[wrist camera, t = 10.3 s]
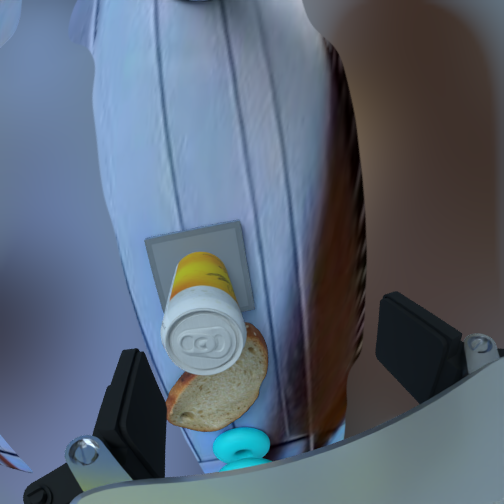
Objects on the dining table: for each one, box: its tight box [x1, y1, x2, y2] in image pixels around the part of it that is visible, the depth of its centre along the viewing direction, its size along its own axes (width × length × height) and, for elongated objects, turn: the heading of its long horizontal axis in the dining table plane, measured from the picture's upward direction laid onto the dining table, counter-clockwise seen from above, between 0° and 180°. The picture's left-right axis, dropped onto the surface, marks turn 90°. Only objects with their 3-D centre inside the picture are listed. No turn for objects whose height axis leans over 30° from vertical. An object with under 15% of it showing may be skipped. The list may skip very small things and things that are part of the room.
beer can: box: [161, 252, 247, 375], centre depth 25 cm, size 6×6×15 cm
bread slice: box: [165, 322, 268, 432], centre depth 36 cm, size 18×18×4 cm
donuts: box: [213, 427, 272, 472], centre depth 37 cm, size 10×10×10 cm
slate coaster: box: [144, 220, 255, 313], centre depth 33 cm, size 11×11×1 cm
